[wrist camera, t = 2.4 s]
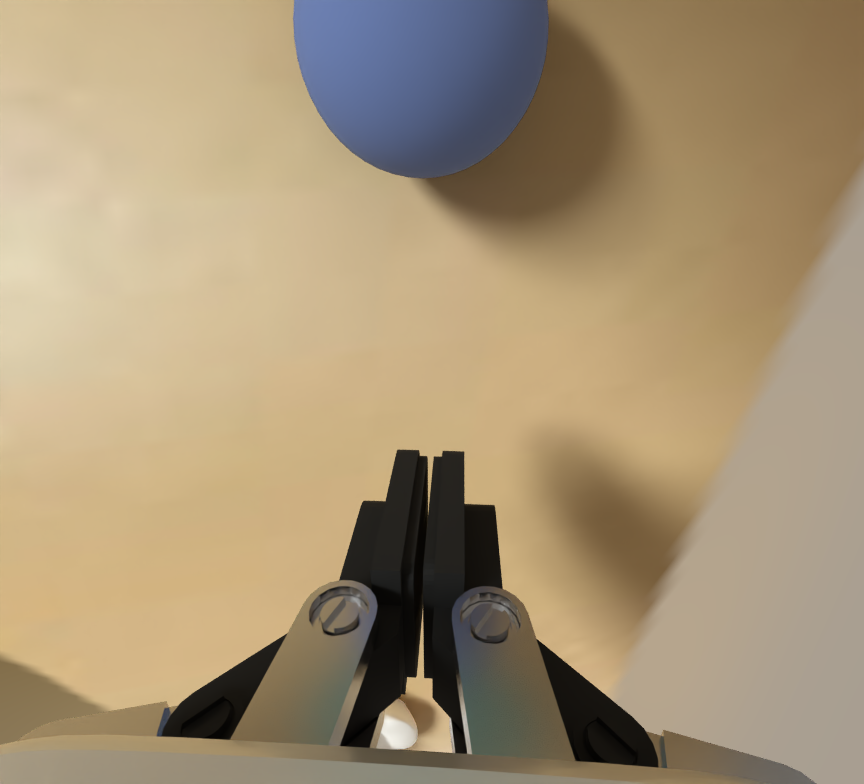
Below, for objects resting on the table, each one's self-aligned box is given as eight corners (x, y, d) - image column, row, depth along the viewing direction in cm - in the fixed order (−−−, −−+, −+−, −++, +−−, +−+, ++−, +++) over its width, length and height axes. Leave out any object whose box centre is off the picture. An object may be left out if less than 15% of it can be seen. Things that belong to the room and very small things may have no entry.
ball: (287, 18, 13) (185, -58, 8) (469, -127, 12) (478, -326, 7) (396, 208, 15) (367, 238, 10) (562, 104, 14) (622, 80, 9)
